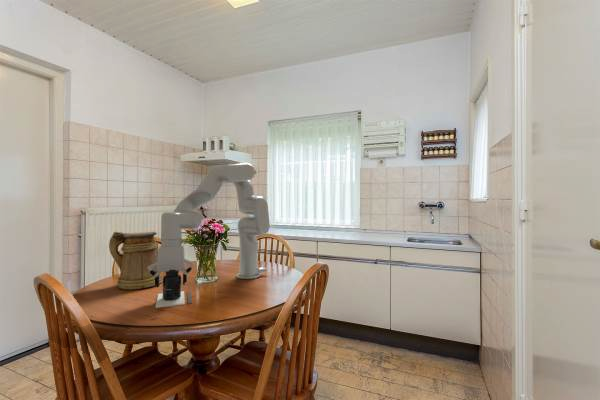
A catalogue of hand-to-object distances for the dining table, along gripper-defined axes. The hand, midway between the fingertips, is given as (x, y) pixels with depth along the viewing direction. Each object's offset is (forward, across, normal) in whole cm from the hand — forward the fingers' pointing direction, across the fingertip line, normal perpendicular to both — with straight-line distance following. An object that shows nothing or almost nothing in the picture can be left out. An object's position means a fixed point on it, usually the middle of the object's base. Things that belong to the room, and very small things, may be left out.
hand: (171, 285), depth 119 cm
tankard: (+6, +16, -28) cm, 33 cm away
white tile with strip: (+6, -1, 0) cm, 6 cm away
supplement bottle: (+5, 0, 0) cm, 5 cm away
